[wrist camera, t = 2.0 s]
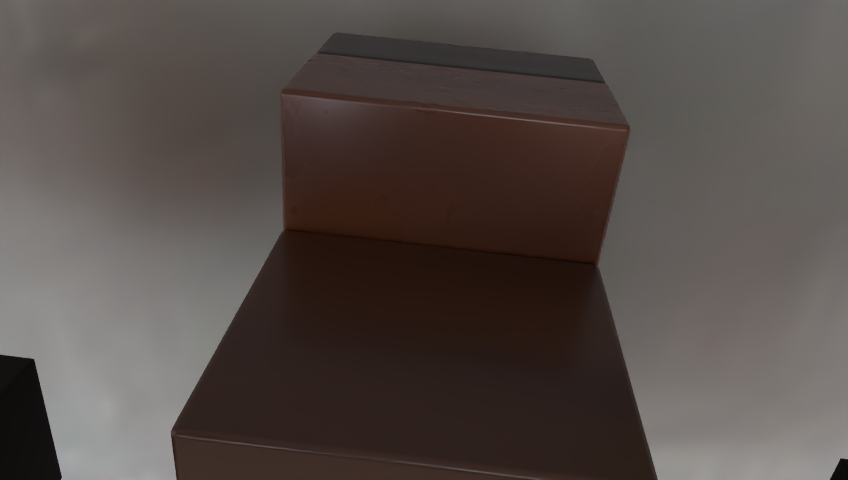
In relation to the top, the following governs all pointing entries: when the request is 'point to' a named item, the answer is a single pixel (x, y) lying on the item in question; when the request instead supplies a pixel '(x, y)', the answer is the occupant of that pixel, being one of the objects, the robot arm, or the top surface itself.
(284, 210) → the brown stepped block
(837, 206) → the top surface
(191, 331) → the top surface
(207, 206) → the top surface
